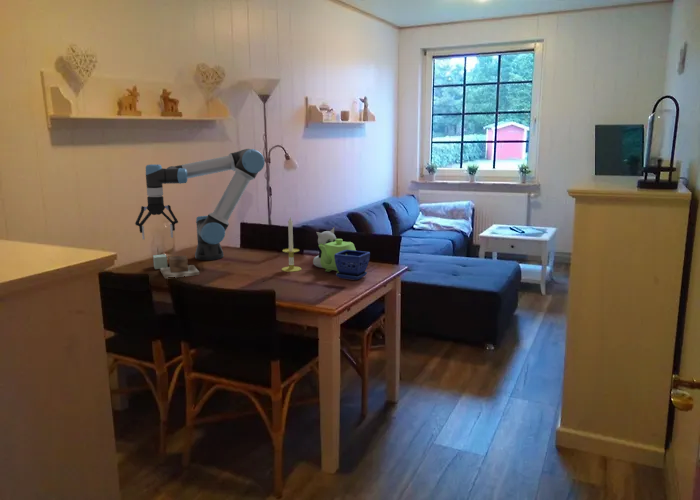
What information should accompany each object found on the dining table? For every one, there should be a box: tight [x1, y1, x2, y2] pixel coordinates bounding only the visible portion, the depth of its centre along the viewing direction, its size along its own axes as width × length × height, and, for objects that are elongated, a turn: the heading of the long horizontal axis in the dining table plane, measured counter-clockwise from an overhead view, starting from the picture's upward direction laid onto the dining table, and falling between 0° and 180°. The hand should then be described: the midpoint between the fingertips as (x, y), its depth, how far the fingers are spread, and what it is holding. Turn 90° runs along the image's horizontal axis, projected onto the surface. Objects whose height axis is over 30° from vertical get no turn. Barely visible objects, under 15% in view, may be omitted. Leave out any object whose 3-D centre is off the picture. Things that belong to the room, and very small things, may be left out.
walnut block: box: [168, 255, 189, 273], centre depth 270 cm, size 8×8×6 cm
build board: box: [159, 264, 200, 280], centre depth 271 cm, size 16×16×2 cm
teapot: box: [318, 238, 357, 274], centre depth 274 cm, size 25×22×16 cm
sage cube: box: [152, 253, 169, 270], centre depth 282 cm, size 6×6×6 cm
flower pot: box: [334, 250, 371, 281], centre depth 260 cm, size 13×13×12 cm
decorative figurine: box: [312, 227, 337, 269], centre depth 283 cm, size 15×15×20 cm
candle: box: [281, 216, 302, 273], centre depth 275 cm, size 10×10×27 cm
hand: (157, 238), depth 279 cm, fingers open, 13 cm apart
